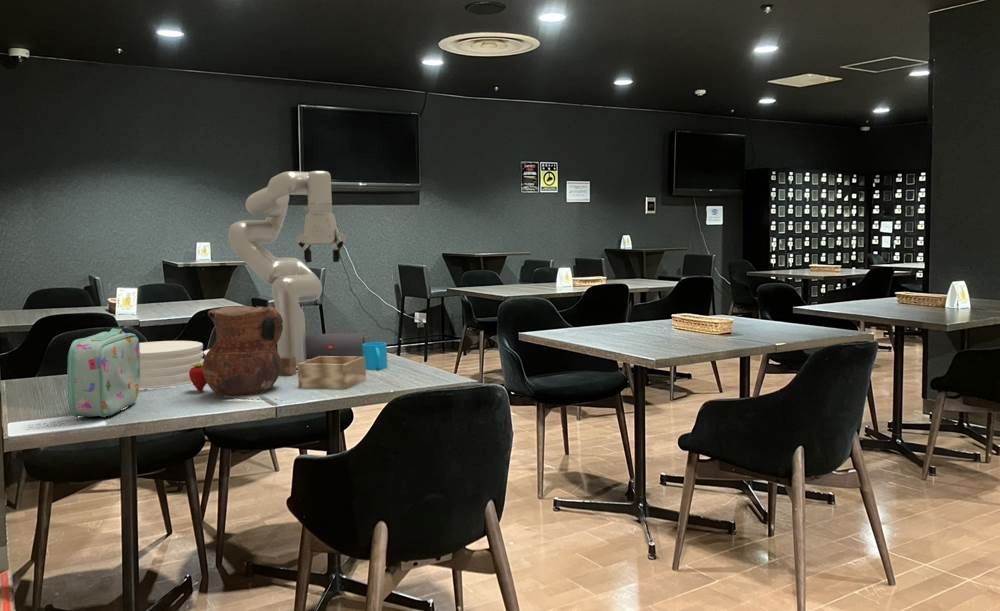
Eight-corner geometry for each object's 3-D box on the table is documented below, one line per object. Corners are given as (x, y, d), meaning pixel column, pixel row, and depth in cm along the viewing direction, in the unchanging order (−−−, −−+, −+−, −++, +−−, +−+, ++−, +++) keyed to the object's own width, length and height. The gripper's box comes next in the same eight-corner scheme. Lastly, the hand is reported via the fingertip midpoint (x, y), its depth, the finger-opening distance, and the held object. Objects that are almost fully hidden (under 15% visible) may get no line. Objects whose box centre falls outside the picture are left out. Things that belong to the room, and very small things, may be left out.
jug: (214, 404, 225) (209, 313, 223) (195, 393, 243) (190, 307, 241) (293, 394, 238) (289, 307, 235) (270, 384, 255) (266, 302, 253)
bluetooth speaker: (298, 364, 293) (297, 336, 292) (302, 360, 302) (301, 333, 302) (363, 362, 295) (362, 334, 294) (365, 358, 304) (364, 331, 303)
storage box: (298, 391, 243) (297, 363, 242) (320, 381, 257) (319, 356, 257) (347, 392, 240) (346, 364, 239) (366, 382, 254) (365, 356, 253)
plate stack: (191, 372, 282) (190, 338, 281) (215, 383, 259) (213, 347, 258) (101, 381, 266) (99, 346, 265) (117, 395, 243) (115, 356, 242)
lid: (252, 384, 259) (251, 361, 259) (276, 375, 275) (275, 353, 274) (300, 384, 256) (299, 361, 255) (321, 375, 272) (320, 354, 271)
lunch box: (107, 401, 233) (102, 325, 231) (145, 400, 234) (141, 324, 232) (64, 423, 206) (59, 337, 205) (107, 422, 207) (102, 336, 205)
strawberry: (209, 388, 250) (207, 355, 249) (213, 392, 243) (211, 358, 242) (188, 390, 247) (186, 357, 246) (191, 394, 241) (189, 360, 240)
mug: (361, 367, 285) (360, 343, 284) (384, 365, 287) (384, 341, 287) (367, 372, 273) (366, 347, 273) (391, 370, 276) (390, 346, 275)
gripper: (290, 210, 269) (292, 263, 270) (340, 208, 265) (342, 262, 267) (300, 210, 276) (302, 262, 278) (349, 209, 273) (351, 261, 274)
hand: (322, 262), depth 272 cm, fingers open, 9 cm apart
